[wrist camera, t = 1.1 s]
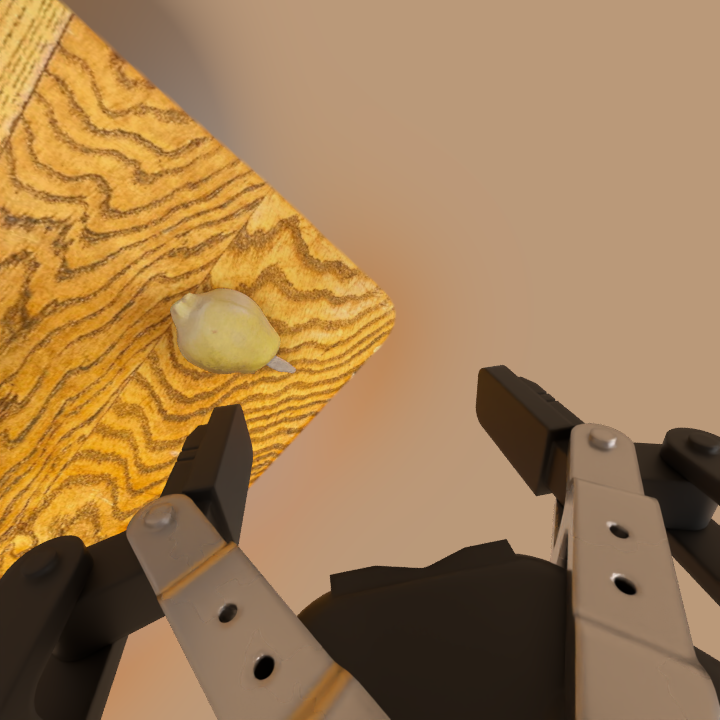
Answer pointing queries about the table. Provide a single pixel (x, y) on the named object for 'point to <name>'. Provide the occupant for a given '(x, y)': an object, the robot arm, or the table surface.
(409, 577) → the robot arm
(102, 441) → the table surface
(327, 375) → the table surface
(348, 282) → the table surface
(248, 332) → the fruit
